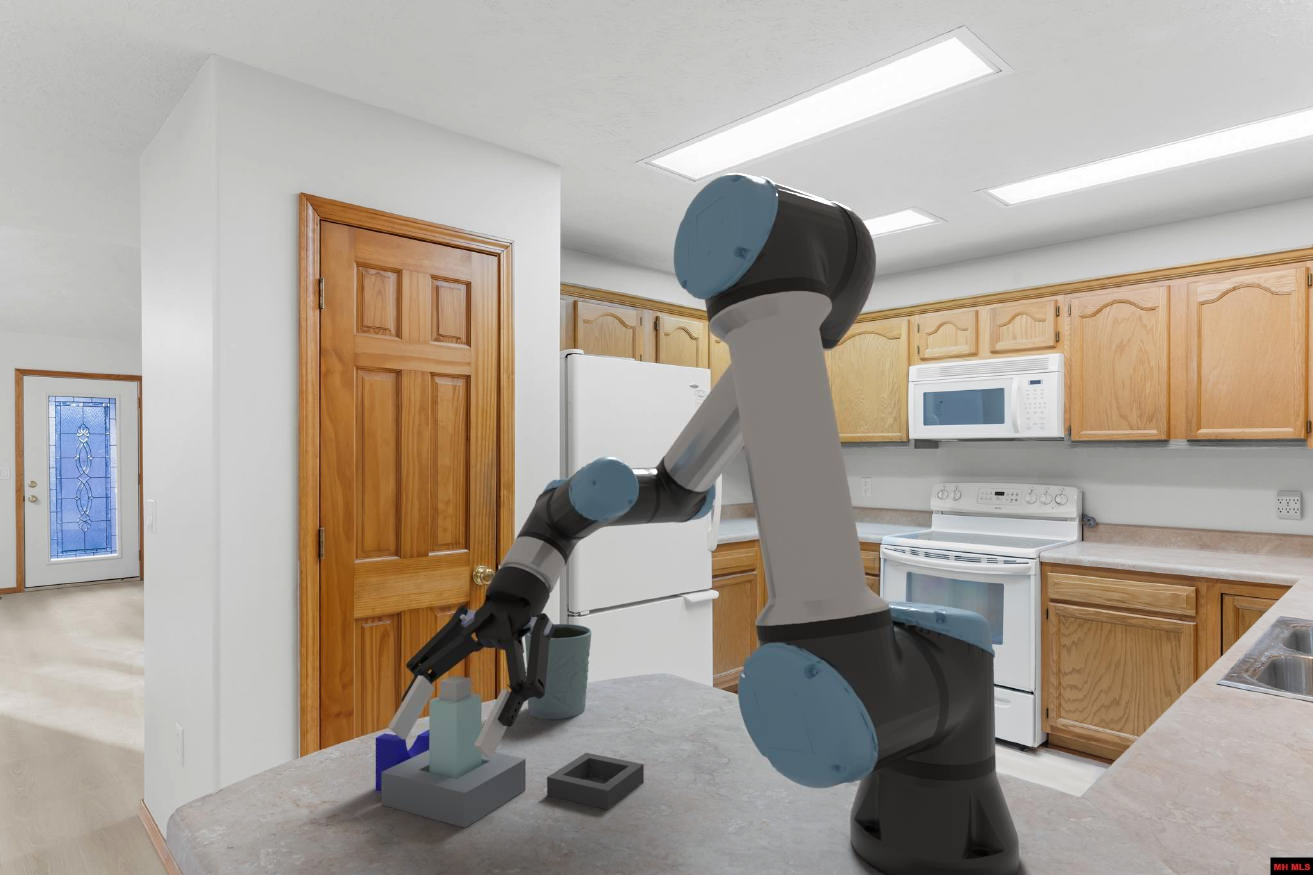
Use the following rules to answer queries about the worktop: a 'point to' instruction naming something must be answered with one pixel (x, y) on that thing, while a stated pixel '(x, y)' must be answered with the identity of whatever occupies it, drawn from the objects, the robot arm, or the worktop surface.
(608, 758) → the frame
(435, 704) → the capped teal pillar
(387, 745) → the cable clip
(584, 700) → the grey-green tumbler cup
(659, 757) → the worktop surface
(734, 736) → the worktop surface
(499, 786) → the block
